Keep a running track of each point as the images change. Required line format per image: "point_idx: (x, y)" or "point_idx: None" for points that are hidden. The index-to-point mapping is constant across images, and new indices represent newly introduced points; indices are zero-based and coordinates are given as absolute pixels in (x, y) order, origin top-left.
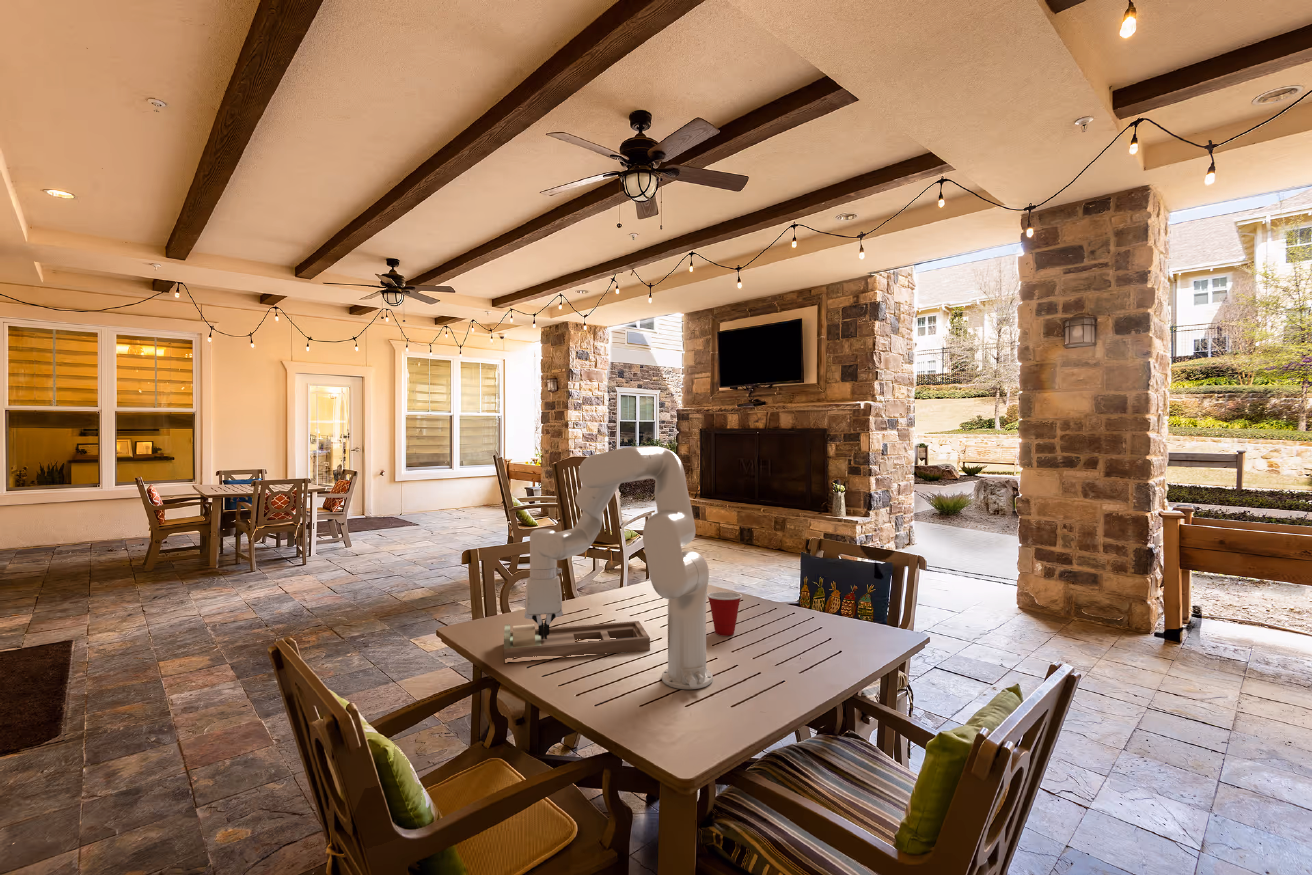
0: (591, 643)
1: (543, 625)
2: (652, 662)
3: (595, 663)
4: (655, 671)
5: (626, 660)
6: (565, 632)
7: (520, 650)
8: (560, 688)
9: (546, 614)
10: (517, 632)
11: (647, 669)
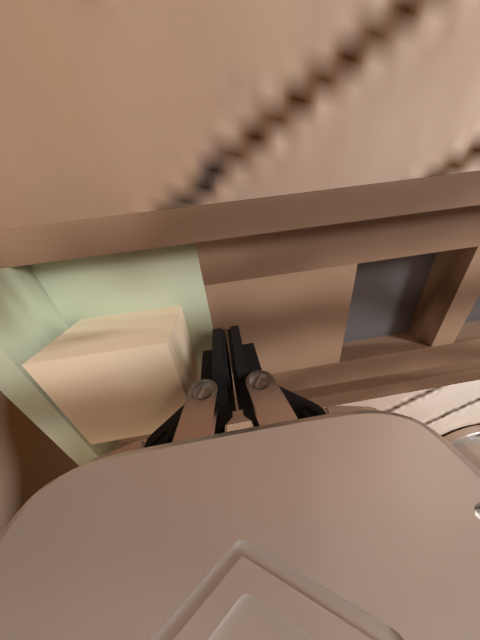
0: (380, 396)
1: (234, 409)
2: (454, 400)
3: (349, 404)
4: (432, 428)
5: (416, 392)
6: (328, 236)
7: None
8: None
9: (259, 419)
10: (113, 439)
11: (426, 423)
